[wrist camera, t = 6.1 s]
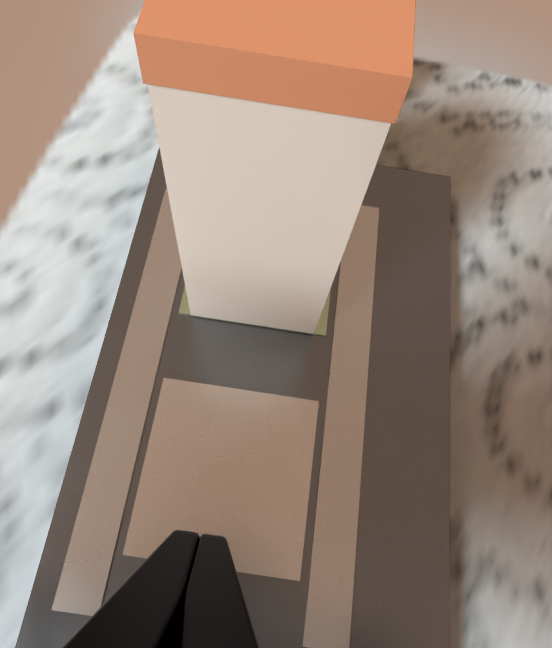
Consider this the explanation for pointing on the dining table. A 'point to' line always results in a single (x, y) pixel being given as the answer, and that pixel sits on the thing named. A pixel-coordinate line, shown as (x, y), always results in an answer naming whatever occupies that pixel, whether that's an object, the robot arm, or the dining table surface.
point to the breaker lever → (270, 140)
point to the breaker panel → (274, 439)
